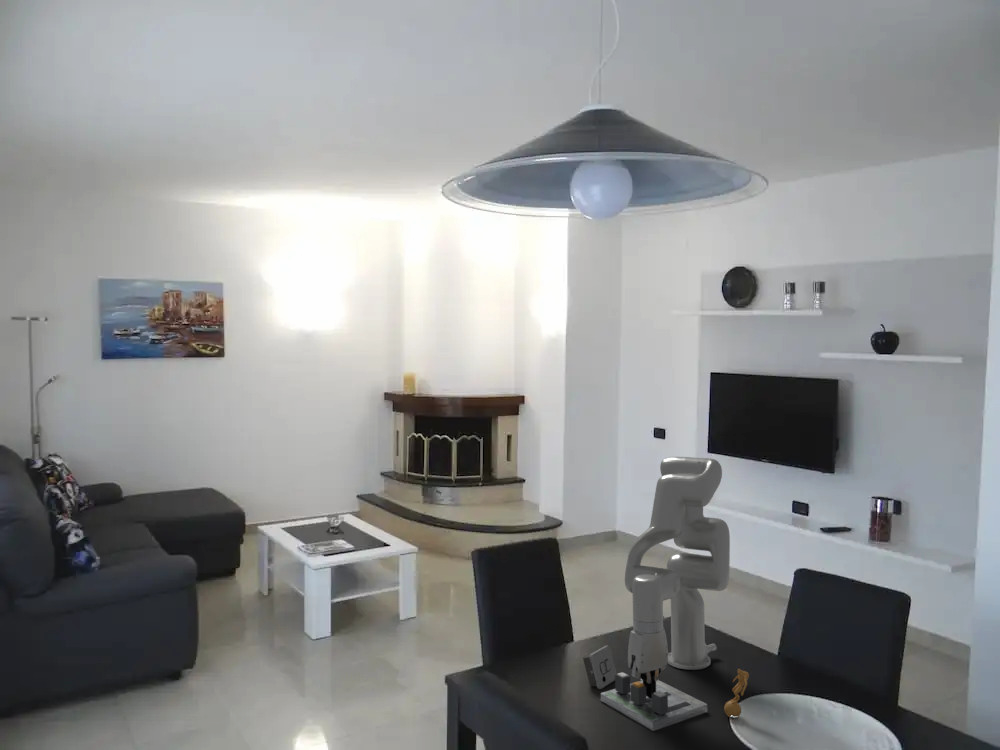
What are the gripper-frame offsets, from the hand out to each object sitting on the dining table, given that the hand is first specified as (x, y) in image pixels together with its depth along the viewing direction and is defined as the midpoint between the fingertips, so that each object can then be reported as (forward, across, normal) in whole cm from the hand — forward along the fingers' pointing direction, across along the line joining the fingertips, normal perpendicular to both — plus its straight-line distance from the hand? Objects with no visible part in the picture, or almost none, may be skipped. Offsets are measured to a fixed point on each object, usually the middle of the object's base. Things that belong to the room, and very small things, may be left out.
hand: (649, 695), depth 203 cm
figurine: (+3, -14, +16) cm, 22 cm away
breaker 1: (+1, +3, -7) cm, 8 cm away
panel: (+3, -1, 0) cm, 3 cm away
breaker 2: (+1, +3, +7) cm, 8 cm away
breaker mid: (+1, +4, 0) cm, 4 cm away
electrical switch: (+3, +1, -19) cm, 19 cm away
